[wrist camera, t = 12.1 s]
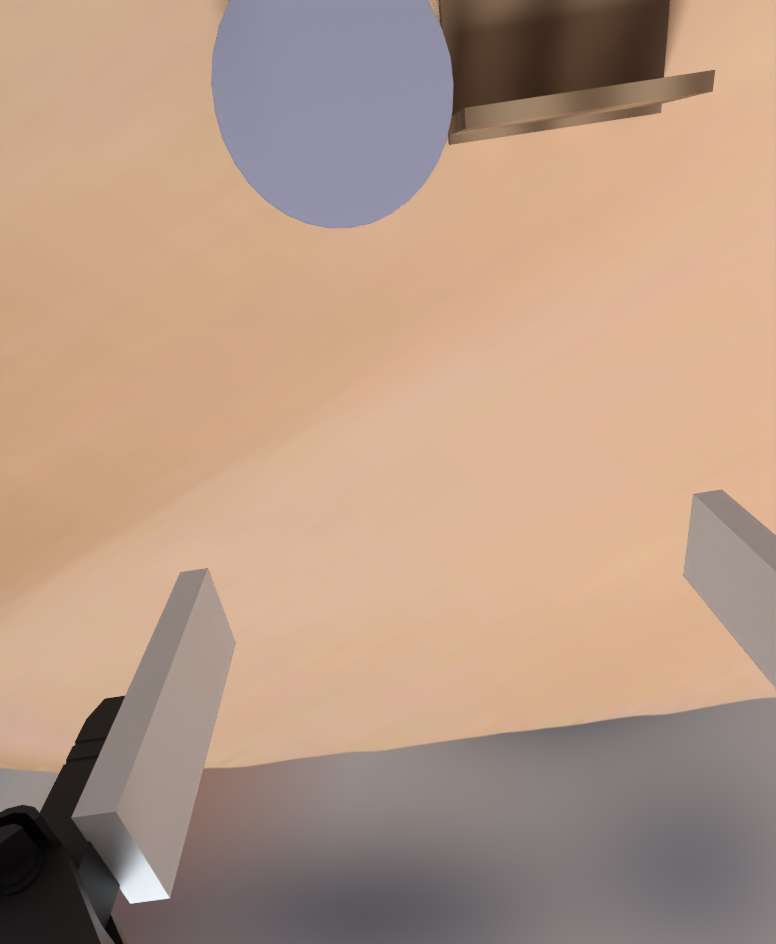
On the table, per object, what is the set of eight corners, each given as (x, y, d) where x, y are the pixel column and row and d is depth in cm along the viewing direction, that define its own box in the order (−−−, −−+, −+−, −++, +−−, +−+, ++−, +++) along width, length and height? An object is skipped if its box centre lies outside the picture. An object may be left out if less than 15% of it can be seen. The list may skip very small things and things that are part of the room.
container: (297, 231, 40) (268, 258, 27) (237, 62, 36) (167, -6, 22) (436, 183, 39) (477, 187, 26) (393, 3, 35) (417, -105, 21)
